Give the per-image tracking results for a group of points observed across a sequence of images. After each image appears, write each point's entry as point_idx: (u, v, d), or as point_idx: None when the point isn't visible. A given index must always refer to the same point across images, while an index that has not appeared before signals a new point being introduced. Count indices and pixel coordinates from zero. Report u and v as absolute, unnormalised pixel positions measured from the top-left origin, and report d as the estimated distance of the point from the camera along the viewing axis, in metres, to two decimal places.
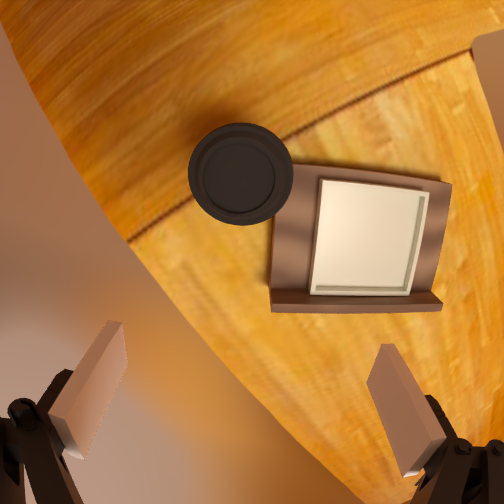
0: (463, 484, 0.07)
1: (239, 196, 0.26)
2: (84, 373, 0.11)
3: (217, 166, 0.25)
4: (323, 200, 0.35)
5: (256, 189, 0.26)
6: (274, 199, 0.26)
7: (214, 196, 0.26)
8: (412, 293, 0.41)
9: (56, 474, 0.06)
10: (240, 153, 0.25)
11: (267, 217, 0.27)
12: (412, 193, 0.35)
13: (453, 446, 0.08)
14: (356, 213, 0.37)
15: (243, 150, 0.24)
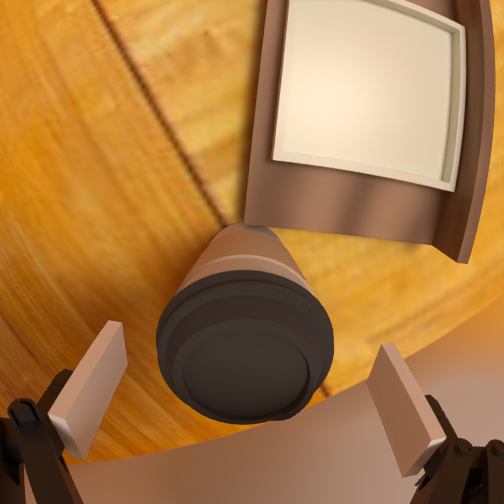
0: (463, 484, 0.07)
1: (279, 377, 0.14)
2: (84, 373, 0.11)
3: (225, 400, 0.14)
4: (309, 160, 0.20)
5: (269, 354, 0.13)
6: (291, 332, 0.13)
7: (274, 406, 0.15)
8: (459, 19, 0.16)
9: (56, 474, 0.06)
10: (202, 372, 0.14)
11: (325, 328, 0.14)
12: None
13: (453, 446, 0.08)
14: (333, 98, 0.19)
15: (197, 368, 0.14)
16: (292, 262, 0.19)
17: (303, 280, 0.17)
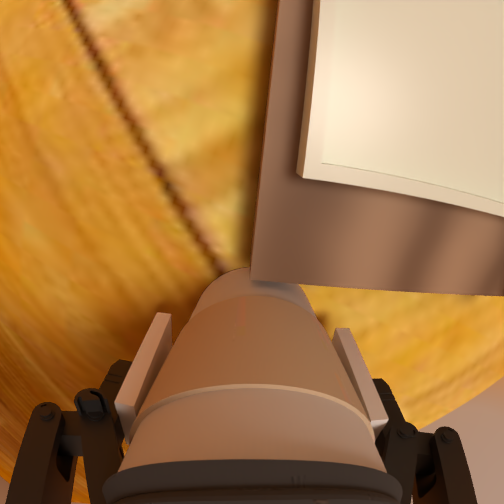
0: (414, 468, 0.08)
1: None
2: (144, 362, 0.12)
3: None
4: (365, 179, 0.11)
5: None
6: None
7: None
8: None
9: (116, 467, 0.07)
10: None
11: None
12: None
13: (395, 431, 0.09)
14: (398, 76, 0.11)
15: None
16: (336, 366, 0.10)
17: (358, 412, 0.08)
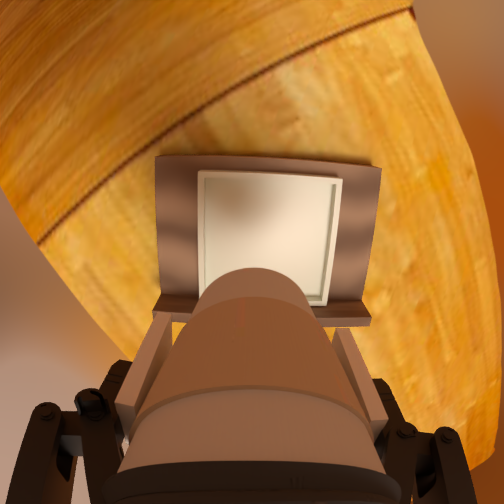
0: (413, 468, 0.08)
1: None
2: (144, 362, 0.12)
3: None
4: (200, 195, 0.31)
5: None
6: None
7: None
8: (333, 303, 0.36)
9: (116, 467, 0.07)
10: None
11: None
12: (317, 180, 0.30)
13: (395, 431, 0.09)
14: (246, 208, 0.32)
15: None
16: (335, 367, 0.10)
17: (357, 413, 0.08)
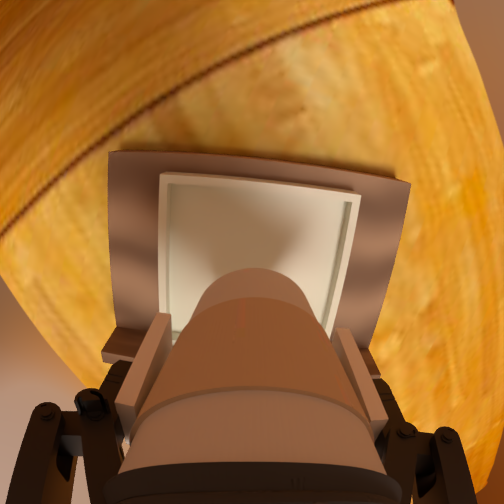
0: (413, 468, 0.08)
1: None
2: (144, 362, 0.12)
3: None
4: (162, 207, 0.22)
5: None
6: None
7: None
8: None
9: (116, 467, 0.07)
10: None
11: None
12: (326, 195, 0.22)
13: (395, 430, 0.09)
14: (226, 227, 0.24)
15: None
16: (336, 368, 0.10)
17: (358, 414, 0.08)
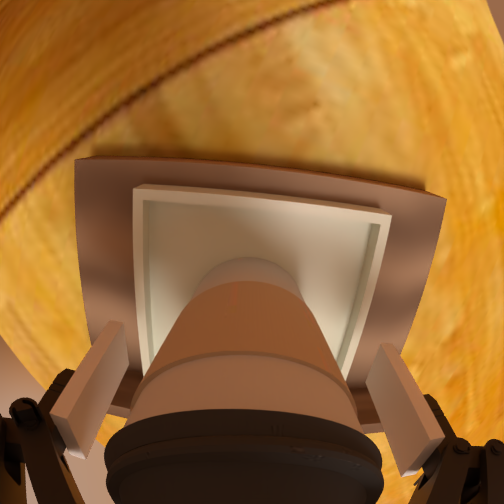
0: (462, 484, 0.07)
1: None
2: (86, 373, 0.11)
3: None
4: (137, 231, 0.17)
5: None
6: None
7: None
8: None
9: (58, 474, 0.06)
10: None
11: (376, 480, 0.06)
12: (348, 216, 0.17)
13: (452, 446, 0.08)
14: (219, 255, 0.19)
15: None
16: (319, 342, 0.11)
17: (339, 382, 0.09)
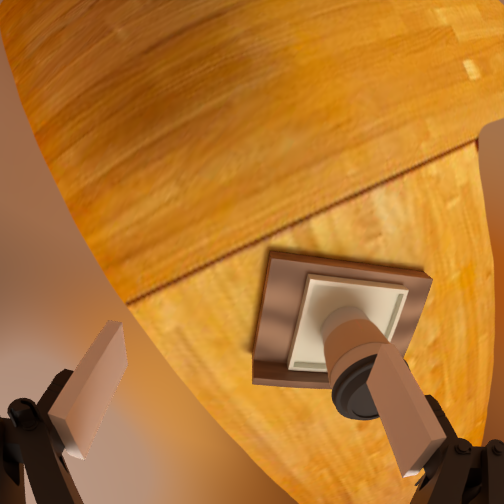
0: (463, 484, 0.07)
1: None
2: (84, 373, 0.11)
3: (364, 409, 0.29)
4: (308, 296, 0.39)
5: None
6: None
7: None
8: None
9: (56, 474, 0.06)
10: (360, 397, 0.28)
11: None
12: (392, 291, 0.39)
13: (453, 446, 0.08)
14: (337, 305, 0.41)
15: (358, 396, 0.28)
16: None
17: None
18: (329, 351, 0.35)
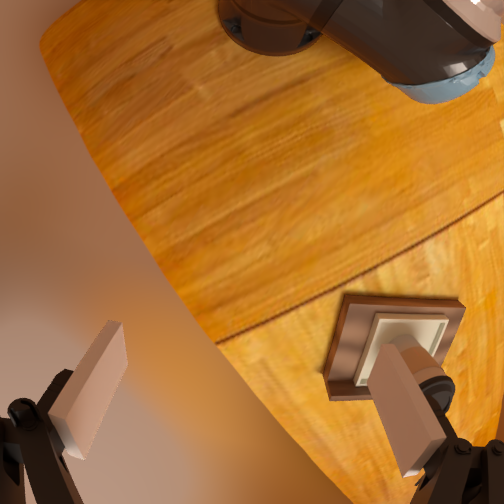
0: (463, 484, 0.07)
1: (440, 405, 0.36)
2: (84, 373, 0.11)
3: None
4: (377, 331, 0.46)
5: (441, 399, 0.35)
6: (449, 392, 0.34)
7: None
8: None
9: (56, 474, 0.06)
10: None
11: (454, 388, 0.36)
12: (437, 321, 0.46)
13: (453, 446, 0.08)
14: (396, 335, 0.48)
15: None
16: (436, 362, 0.41)
17: (443, 370, 0.39)
18: None
